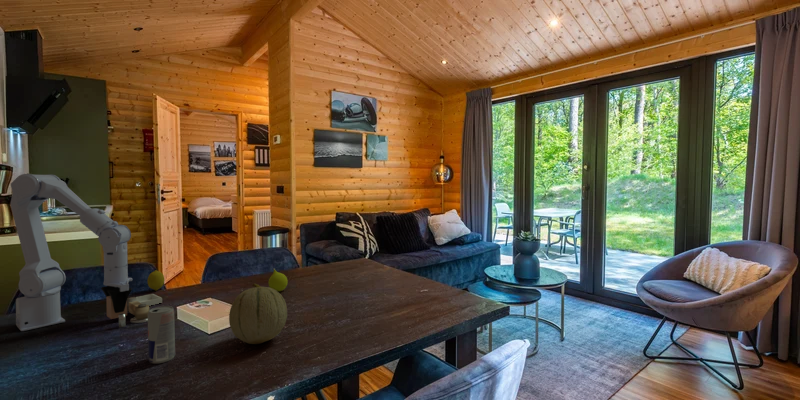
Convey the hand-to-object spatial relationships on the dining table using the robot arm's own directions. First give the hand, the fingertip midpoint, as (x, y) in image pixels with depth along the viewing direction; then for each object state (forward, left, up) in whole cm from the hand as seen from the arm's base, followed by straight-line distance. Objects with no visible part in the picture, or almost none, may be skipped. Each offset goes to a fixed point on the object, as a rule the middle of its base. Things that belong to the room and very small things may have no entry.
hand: (116, 310), depth 115 cm
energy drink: (-2, -38, -3) cm, 38 cm away
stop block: (0, 0, -2) cm, 2 cm away
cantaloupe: (+18, -47, -3) cm, 50 cm away
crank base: (+3, -5, -3) cm, 7 cm away
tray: (+11, +11, -3) cm, 16 cm away
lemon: (+20, +26, -3) cm, 33 cm away
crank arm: (+5, -1, -2) cm, 6 cm away
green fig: (+49, -11, -3) cm, 50 cm away
